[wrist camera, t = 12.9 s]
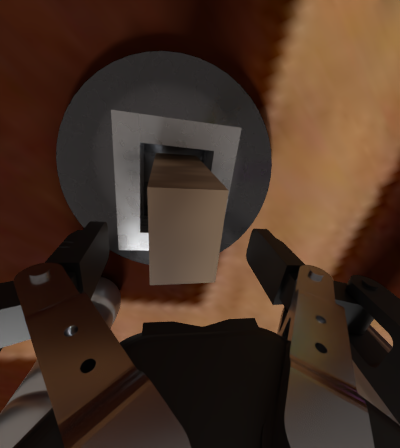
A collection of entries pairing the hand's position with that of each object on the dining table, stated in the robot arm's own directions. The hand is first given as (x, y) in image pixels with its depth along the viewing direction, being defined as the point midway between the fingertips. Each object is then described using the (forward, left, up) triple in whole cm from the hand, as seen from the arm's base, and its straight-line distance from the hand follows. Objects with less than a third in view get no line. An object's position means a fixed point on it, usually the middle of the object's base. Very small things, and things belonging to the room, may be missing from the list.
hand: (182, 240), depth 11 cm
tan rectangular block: (0, 0, -12) cm, 12 cm away
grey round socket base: (0, 0, -13) cm, 13 cm away
